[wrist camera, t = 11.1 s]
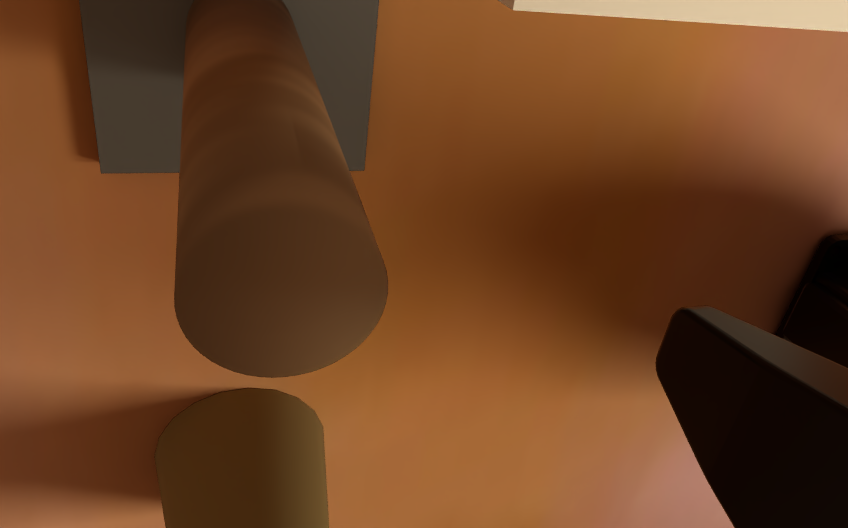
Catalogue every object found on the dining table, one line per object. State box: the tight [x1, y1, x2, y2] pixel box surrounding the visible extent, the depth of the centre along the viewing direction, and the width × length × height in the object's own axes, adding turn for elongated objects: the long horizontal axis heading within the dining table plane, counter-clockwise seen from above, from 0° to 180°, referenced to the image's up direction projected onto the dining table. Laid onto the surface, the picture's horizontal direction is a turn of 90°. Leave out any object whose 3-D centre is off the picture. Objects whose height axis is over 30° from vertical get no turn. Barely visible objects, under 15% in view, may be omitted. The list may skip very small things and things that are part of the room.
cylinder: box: [174, 0, 388, 378], centre depth 13 cm, size 3×3×11 cm
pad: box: [79, 0, 379, 173], centre depth 18 cm, size 7×7×1 cm
